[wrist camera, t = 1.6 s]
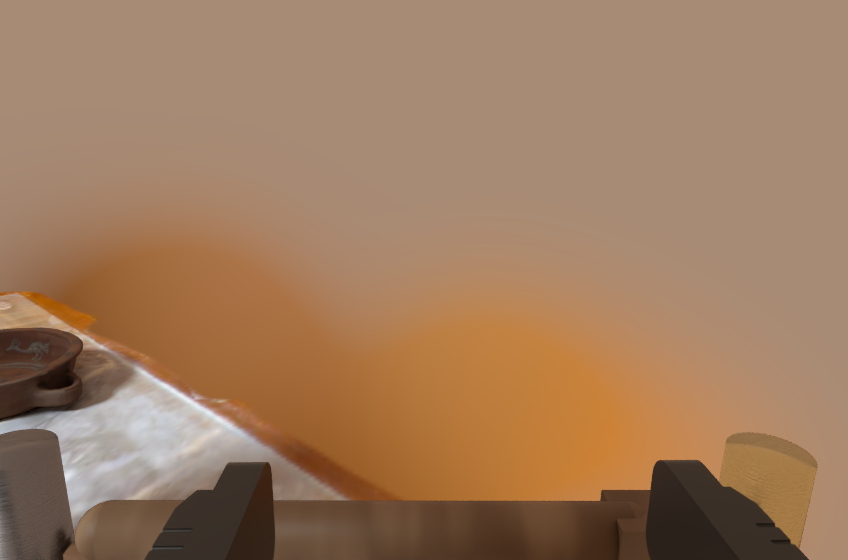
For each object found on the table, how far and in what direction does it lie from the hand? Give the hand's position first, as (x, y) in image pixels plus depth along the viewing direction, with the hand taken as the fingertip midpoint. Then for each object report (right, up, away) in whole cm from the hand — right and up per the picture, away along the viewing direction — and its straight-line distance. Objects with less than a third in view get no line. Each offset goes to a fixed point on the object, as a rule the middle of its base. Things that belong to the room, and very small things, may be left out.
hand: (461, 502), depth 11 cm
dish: (-47, -9, +52) cm, 71 cm away
